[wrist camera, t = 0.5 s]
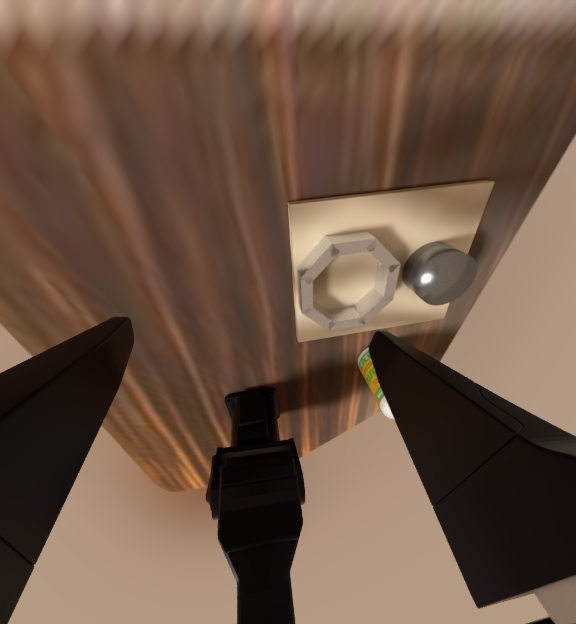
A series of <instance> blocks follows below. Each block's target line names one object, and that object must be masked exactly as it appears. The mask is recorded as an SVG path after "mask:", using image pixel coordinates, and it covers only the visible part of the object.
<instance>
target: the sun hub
mask: <svg viewBox="0 0 576 624" xmlns="http://www.w3.org/2000/svg"><path fill="white" fill-rule="evenodd" d="M476 272H477V264H476V261H475V259H474V258H473V257H472V256H470V255H468V254H466V253H464V252H462V251H460V250H458V249H456V248H454V247H452V246H450V245H448V244H446V243H443V242H438V241H437V242H430V243H427V244H425V245H423V246H421V247H420V248H418V249H417V250H416V251H414V252H413V253H412V254H411V256H410V257H409V258H408V260H407V261H406V263H405V265H404V268H403V271H402V279H403V282H404V284H405V285H406V286H407V287H408V288H409V289H411V290H412V291H413V292H414V293H415V294H416V295H417V296H419V297H420V298H421V299H422V300H423V301H424V302H426V303H427V304H429V305H434V306H438V305H444V304H447V303H449V302H451V301H453V300H455V299H457V298H458V297H459V296H461V295H462V294H463V293H464V292H465V291H466V290H467V289H468V288H469V286H470V285H471V284H472V282H473V280H474V278H475V276H476Z"/></svg>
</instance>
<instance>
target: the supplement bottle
mask: <svg viewBox="0 0 576 624" xmlns="http://www.w3.org/2000/svg"><path fill="white" fill-rule="evenodd" d="M358 367H359V369H360V371H361V373H362V375H363V377H364V378H365V380H366V382H367V384H368V386H369V388H370V390H371V392H372V394H373V396H374V397H375V399H376V401H377V403H378V405H379V407H380V409H381V410H382V412H383V413H384V415H385V416H387V417H388V418H390V419H393V420H395V419H394V417H393V415H392V412H391V410H390V408H389V406H388V403H387V401H386V399H385V396H384V394H383V392H382V389H381V387H380V385H379V382H378V379H377V376H376V373H375V370H374V367H373V363H372V360H371V357H370V354H369V347H367V348H366V349H365V350H364V351H363V352H362V353H361V354H360V356H359V358H358Z"/></svg>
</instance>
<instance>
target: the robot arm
mask: <svg viewBox="0 0 576 624" xmlns="http://www.w3.org/2000/svg"><path fill="white" fill-rule="evenodd" d="M133 344H134V334H133V328H132V323H131V320H130V318H128V317H113V318H111V319H109V320H107V321H105V322H103V323H101V324H99V325H97V326H95V327H93V328H91V329H89V330H87V331H85V332H82V333H80V334H78V335H76V336H74V337H72V338H70V339H68V340H66V341H64V342H62V343H60V344H58V345H56V346H54V347H52V348H50V349H48V350H46V351H44V352H42V353H40V354H38V355H36V356H34V357H32V358H30V359H28V360H26V361H24V362H22V363H20V364H18V365H16V366H14V367H12V368H10V369H8V370H6V371H4V372H2V373H0V624H8V622H9V619H10V617H11V615H12V613H13V611H14V609H15V607H16V605H17V603H18V600H19V598H20V596H21V594H22V592H23V590H24V588H25V586H26V583H27V581H28V579H29V577H30V575H31V573H32V571H33V569H34V564H35V563H36V562H37V560H38V558H39V556H40V553H41V551H42V549H43V547H44V545H45V543H46V541H47V539H48V537H49V534H50V532H51V530H52V528H53V526H54V524H55V522H56V520H57V517H58V515H59V513H60V511H61V509H62V507H63V505H64V503H65V501H66V498H67V496H68V494H69V492H70V490H71V488H72V486H73V484H74V482H75V480H76V477H77V475H78V473H79V471H80V469H81V467H82V465H83V463H84V461H85V458H86V456H87V454H88V452H89V450H90V448H91V445H92V444H93V442H94V439H95V437H96V435H97V433H98V431H99V429H100V427H101V425H102V423H103V420H104V418H105V416H106V414H107V412H108V410H109V408H110V406H111V404H112V401H113V399H114V397H115V395H116V393H117V391H118V389H119V386H120V384H121V381H122V378H123V375H124V372H125V369H126V366H127V363H128V360H129V357H130V354H131V351H132V348H133ZM369 354H370V357H371V360H372V363H373V367H374V370H375V373H376V376H377V379H378V382H379V385H380V387H381V389H382V392H383V394H384V396H385V399H386V401H387V403H388V406H389V408H390V410H391V412H392V415H393V417H394V419H395V422H396V424H397V426H398V428H399V431H400V433H401V435H402V438H403V440H404V442H405V444H406V447H407V449H408V451H409V454H410V456H411V458H412V460H413V463H414V465H415V467H416V469H417V472H418V474H419V476H420V479H421V481H422V483H423V486H424V488H425V490H426V492H427V495H428V497H429V499H430V502H431V504H432V506H434V507H433V509H434V511H435V513H436V515H437V518H438V520H439V522H440V525H441V527H442V530H443V532H444V534H445V536H446V538H447V541H448V543H449V546H450V548H451V550H452V552H453V555H454V557H455V559H456V562H457V564H458V566H459V569H460V571H461V573H462V575H463V577H464V580H465V582H466V584H467V587H468V589H469V591H470V594H471V596H472V598H473V600H474V602H475V604H476V606H477V608H483V607H486V606H490V605H493V604H497V603H500V602H504V601H508V600H511V599H515V598H519V597H522V596H526V595H529V594H533V593H534V594H535V595H536V597H537V598H538V600H539V601H540V603H541V604H542V605H543V607H544V608H545V610H546V612H547V613H548V614H549V617H546V618H542V619H539V620H536V621H533V622H530V623H527V624H576V436H574V435H572V434H570V433H568V432H566V431H563V430H562V429H560V428H558V427H556V426H554V425H552V424H550V423H548V422H547V421H545V420H542V419H541V418H539V417H537V416H535V415H533V414H531V413H530V412H528V411H526V410H524V409H522V408H520V407H518V406H516V405H515V404H513V403H511V402H509V401H507V400H505V399H503V398H502V397H500V396H498V395H496V394H495V393H493V392H491V391H489V390H488V389H486V388H484V387H482V386H481V385H479V384H477V383H474V382H473V381H472V380H470V379H468V378H467V377H465V376H463V375H461V374H460V373H458V372H456V371H455V370H453V369H451V368H449V367H448V366H446V365H444V364H443V363H441V362H439V361H437V360H436V359H434V358H432V357H430V356H429V355H427V354H425V353H424V352H422V351H420V350H418V349H417V348H415V347H413V346H411V345H410V344H408V343H406V342H405V341H403V340H401V339H399V338H398V337H396V336H394V335H392V334H391V333H389V332H387V331H376V332H375V334H374V336H373V338H372V340H371V342H370V345H369ZM225 403H226V406H227V408H228V411H229V414H230V417H231V419H232V431H231V447H225V448H222V447H218V448H217V453H216V455H215V456H213V457H212V467H211V475H210V479H209V483H208V488H207V492H206V501H207V502H208V503H209V505H210V508H211V511H212V519H213V520H216V519H218V540H219V543H220V545H221V547H222V549H223V552H224V554H225V556H226V559H227V561H228V563H229V565H230V568H231V570H232V572H233V575H234V577H235V579H236V581H237V593H238V594H237V624H295V616H294V607H293V598H292V588H291V579H290V569H291V566H292V562H293V558H294V555H295V551H296V547H297V544H298V540H299V536H300V532H301V529H302V525H303V517H302V509H301V505H302V504H304V503H305V488H304V479H303V473H302V469H301V465H300V461H299V457H298V454H297V450H296V446H295V442H294V439H293V438H291V439H289V440H282V441H280V438H279V431H278V423H277V419H278V418H279V417H280V414H279V408H278V401H277V395H276V389H275V388H267V389H261V390H256V391H250V392H244V393H239V394H233V395H228V396H226V397H225Z"/></svg>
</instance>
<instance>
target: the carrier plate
mask: <svg viewBox="0 0 576 624" xmlns="http://www.w3.org/2000/svg"><path fill="white" fill-rule="evenodd" d="M494 183H495V182H494V181H488V180H481V181H472V182H463V183H454V184H445V185H436V186H427V187H418V188H409V189H400V190H391V191H382V192H374V193H365V194H356V195H347V196H338V197H329V198H320V199H311V200H302V201H293V202H288V213H289V228H290V243H291V258H292V273H293V288H294V303H295V318H296V333H297V339H298V342H303V341H310V340H316V339H322V338H328V337H334V336H340V335H346V334H352V333H358V332H364V331H370V330H376V329H382V328H388V327H394V326H400V325H406V324H413V323H419V322H425V321H431V320H437V319H443V318H444V316H445V314H446V311H447V308H448V306H449V303H450V302H449V303H447V304H444V305H438V306H434V305H429V304H427V303H426V302H424V301H423V300H422V299H421V298H420V297H419V296H417V295H416V294H415V293H414V292H413V291H412V290H411V289H409V288H408V287H407V286H406V285H405V284H404V282H403V279H402V271H403V268H404V265H405V263H406V261H407V260H408V258H409V257H410V256H411V254H412V253H413V252H414V251H416V250H417V249H418V248H420V247H421V246H423V245H425V244H427V243H430V242H437V241H438V242H443V243H446V244H448V245H450V246H452V247H454V248H456V249H458V250H460V251H462V252H464V253H466V254H468V252H469V250H470V247H471V244H472V242H473V239H474V236H475V234H476V231H477V228H478V226H479V223H480V220H481V218H482V215H483V212H484V210H485V207H486V204H487V202H488V199H489V196H490V194H491V191H492V188H493V186H494ZM359 231H367V232H368V233H370V234H371V235H373V236H374V237H375V238H377V240H378V241H379V242H380V243H381V244H382V245H383V246H384V247H385V248H386V249H387V250H388V251H389V252H390V253H391V254H392V255H393V257H394V258H395V259H396V260H397V261H398V262H399V263H400V264H401V265H400V270H399V275H398V279H397V284H396V289H395V293H394V298H393V300H392V301H391V302H390V303H389V304H388V305H387V306H385V307H384V308H383V309H382V310H381V311H380V312H379V313H377V314H376V315H375V316H374V317H373V318H372V319H371V320H369V321H368V322H367V323H366V324H365V325H362V326H356V327H349V328H343V329H337V330H331V331H328V330H327V329H325V328H324V327H322V326H321V325H319V324H317V323H316V322H314V321H313V320H311V319H310V318H308V317H307V316H305V315H304V314H302V312H301V309H300V306H299V303H298V293H297V275H296V267H297V266H298V265H299V264H300V263H301V262H302V261H303V260H304V258H305V257H306V256H307V255H308V254H309V253H310V252H311V251H312V249H313V248H314V247H315V246H316V245H317V244H318V243H319V241H320V240H321V239H322V238H323V237H324V236H328V235H336V234H344V233H351V232H359ZM377 263H378V261H377V260H376V259H375V258H374V257H373V256H372V255H371V254H370V253H369V252H361V253H354V254H347V255H339V256H336V257H335V258H334V259H333V260H332V261H331V262H330V263H329V264H328V265H327V266H326V268H325V269H324V270H323V271H322V272H321V273H320V274H319V275H318V276H317V277H316V278H315V279H314V280H313V301H315V302H316V303H318V304H319V305H321V306H322V307H323V308H325V309H326V310H332V309H338V308H344V307H351V306H354V305H355V304H356V303H357V302H358V301H359V300H360V299H361V298H363V297H364V296H365V295H366V294H367V293H368V292H369V291H370V290H371V289H372V288H373V287H374V283H375V276H376V270H377Z"/></svg>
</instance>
